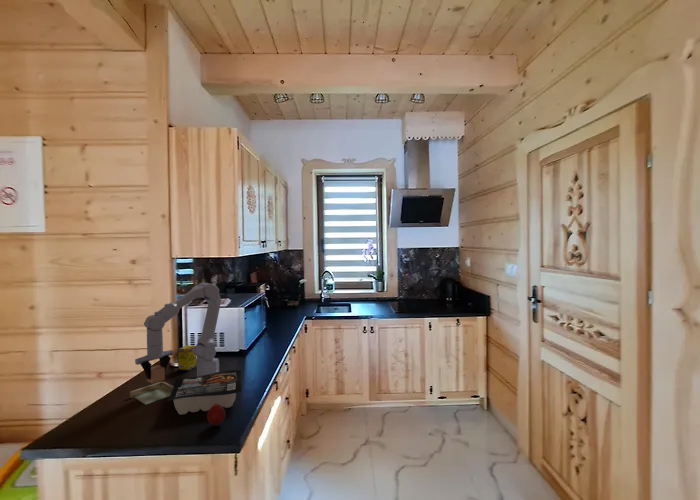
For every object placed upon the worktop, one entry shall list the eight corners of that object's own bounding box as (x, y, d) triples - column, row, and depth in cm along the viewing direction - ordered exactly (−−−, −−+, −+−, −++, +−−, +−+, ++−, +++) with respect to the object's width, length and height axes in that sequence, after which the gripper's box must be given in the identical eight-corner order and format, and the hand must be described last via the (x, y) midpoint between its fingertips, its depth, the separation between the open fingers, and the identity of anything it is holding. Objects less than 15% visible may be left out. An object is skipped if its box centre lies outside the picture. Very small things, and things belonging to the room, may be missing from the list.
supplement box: (189, 371, 167) (188, 349, 167) (178, 370, 168) (177, 348, 168) (196, 367, 173) (196, 345, 173) (186, 366, 174) (185, 345, 174)
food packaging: (240, 368, 150) (240, 389, 129) (241, 385, 151) (241, 409, 129) (178, 376, 143) (166, 399, 121) (178, 393, 143) (167, 420, 121)
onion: (210, 421, 120) (210, 399, 120) (227, 420, 120) (227, 398, 120) (205, 430, 114) (204, 407, 114) (222, 429, 114) (222, 406, 114)
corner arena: (163, 386, 150) (162, 380, 150) (178, 394, 142) (177, 388, 142) (130, 397, 139) (129, 391, 139) (144, 406, 131) (144, 400, 131)
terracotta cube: (159, 376, 146) (158, 365, 146) (164, 379, 143) (164, 367, 143) (146, 380, 142) (146, 368, 142) (152, 383, 139) (151, 371, 139)
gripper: (168, 338, 150) (168, 369, 151) (131, 347, 139) (132, 380, 139) (176, 341, 146) (176, 372, 146) (139, 350, 134) (140, 384, 135)
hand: (155, 376), depth 142 cm, fingers closed on terracotta cube, 5 cm apart
